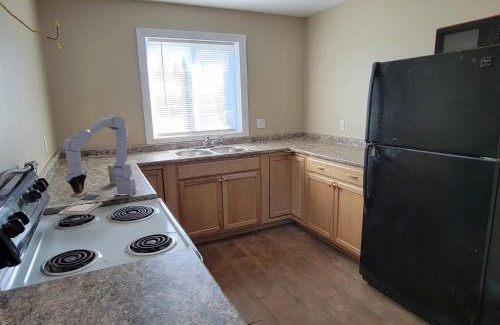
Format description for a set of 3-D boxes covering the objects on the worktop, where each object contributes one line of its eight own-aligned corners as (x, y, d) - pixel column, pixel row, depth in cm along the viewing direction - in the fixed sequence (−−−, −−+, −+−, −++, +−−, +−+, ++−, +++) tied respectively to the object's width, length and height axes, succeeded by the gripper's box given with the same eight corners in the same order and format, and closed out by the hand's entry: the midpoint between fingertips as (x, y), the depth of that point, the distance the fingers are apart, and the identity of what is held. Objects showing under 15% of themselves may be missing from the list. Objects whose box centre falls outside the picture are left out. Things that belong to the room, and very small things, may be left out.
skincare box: (119, 181, 198) (117, 162, 195) (122, 182, 195) (120, 163, 192) (109, 183, 193) (107, 164, 190) (112, 184, 190) (110, 165, 188)
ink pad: (101, 197, 169) (101, 194, 168) (93, 202, 161) (93, 199, 161) (87, 197, 169) (87, 194, 169) (79, 202, 161) (78, 199, 161)
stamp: (87, 193, 153) (85, 182, 151) (80, 197, 148) (79, 185, 147) (77, 193, 153) (75, 182, 152) (71, 197, 148) (69, 185, 147)
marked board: (102, 203, 159) (102, 202, 158) (87, 214, 145) (86, 212, 145) (76, 203, 159) (76, 201, 159) (58, 214, 146) (58, 212, 146)
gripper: (75, 160, 154) (79, 186, 157) (56, 167, 140) (61, 195, 143) (89, 160, 154) (93, 186, 157) (71, 167, 140) (75, 195, 143)
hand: (78, 190), depth 150 cm, fingers closed on stamp, 3 cm apart
